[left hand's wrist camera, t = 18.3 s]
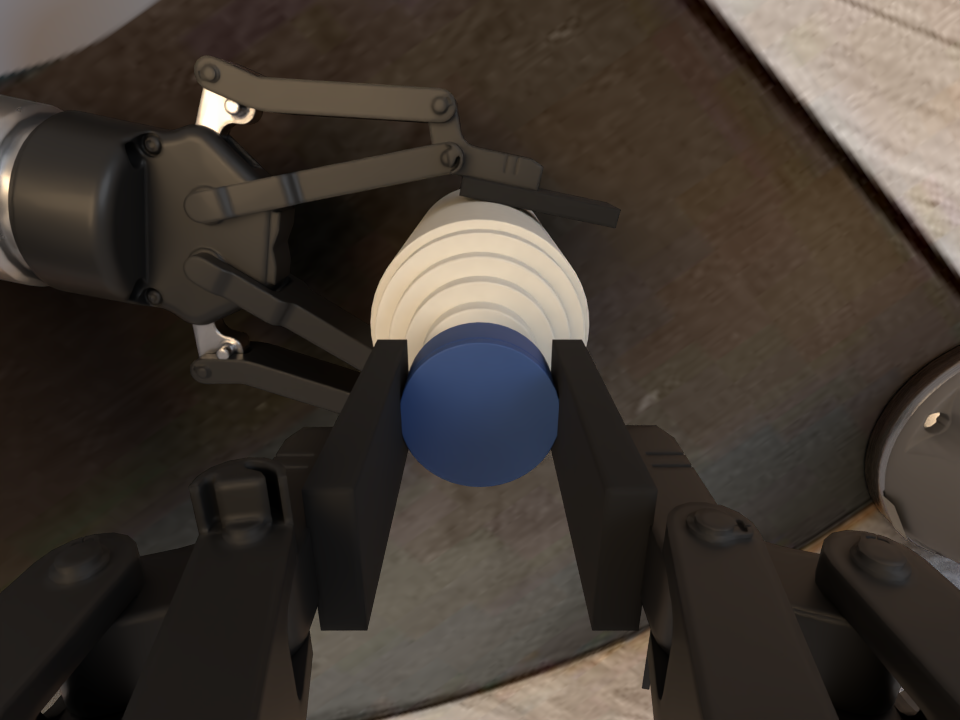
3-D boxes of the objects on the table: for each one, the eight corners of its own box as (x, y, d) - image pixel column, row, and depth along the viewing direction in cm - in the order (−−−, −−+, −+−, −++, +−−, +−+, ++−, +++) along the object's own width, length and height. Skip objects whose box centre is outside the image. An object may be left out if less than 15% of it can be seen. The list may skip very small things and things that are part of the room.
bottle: (514, 161, 29) (564, 197, 12) (566, 286, 32) (672, 470, 14) (389, 222, 31) (267, 337, 13) (449, 338, 33) (414, 567, 15)
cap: (468, 478, 16) (467, 513, 14) (376, 379, 14) (364, 406, 13) (581, 401, 15) (592, 430, 13) (492, 290, 14) (494, 309, 12)
